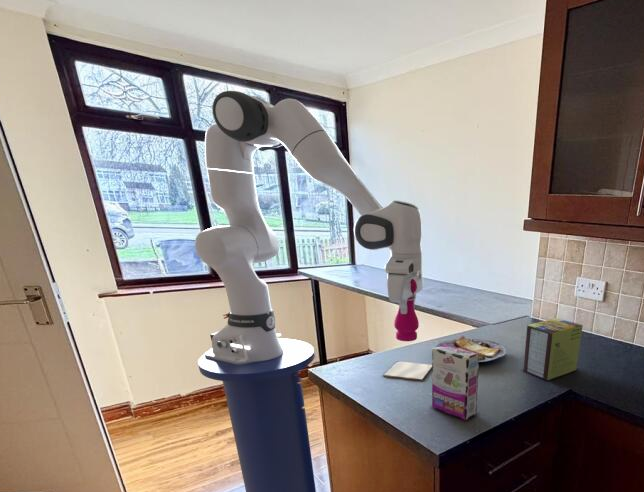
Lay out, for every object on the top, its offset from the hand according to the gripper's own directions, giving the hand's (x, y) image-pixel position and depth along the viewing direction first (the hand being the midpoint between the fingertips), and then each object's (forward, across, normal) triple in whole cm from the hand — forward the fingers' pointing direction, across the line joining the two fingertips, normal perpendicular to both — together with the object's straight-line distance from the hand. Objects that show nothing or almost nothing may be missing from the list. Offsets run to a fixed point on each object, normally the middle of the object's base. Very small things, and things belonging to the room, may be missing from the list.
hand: (407, 311), depth 119 cm
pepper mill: (+9, 0, -1) cm, 9 cm away
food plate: (+19, -20, +16) cm, 32 cm away
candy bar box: (+19, +22, +20) cm, 35 cm away
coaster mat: (+19, 0, 0) cm, 19 cm away
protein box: (+19, -13, +44) cm, 49 cm away
